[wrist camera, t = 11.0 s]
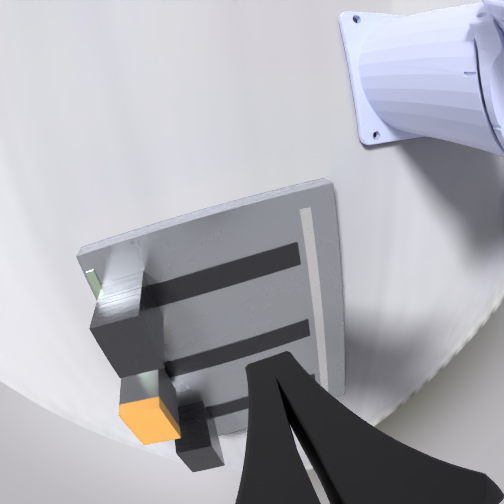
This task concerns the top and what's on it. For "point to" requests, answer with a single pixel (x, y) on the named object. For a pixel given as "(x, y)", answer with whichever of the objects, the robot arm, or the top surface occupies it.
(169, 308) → the panel
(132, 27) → the top surface
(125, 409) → the toggle
